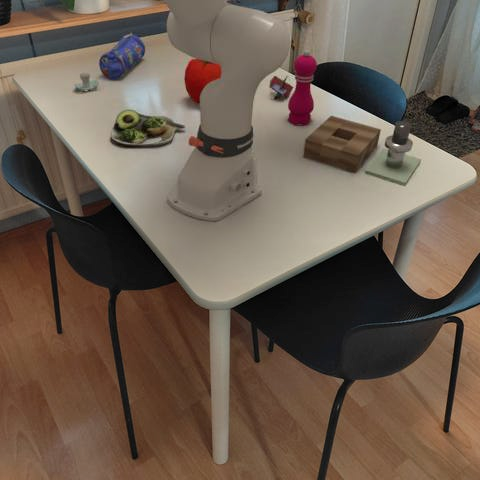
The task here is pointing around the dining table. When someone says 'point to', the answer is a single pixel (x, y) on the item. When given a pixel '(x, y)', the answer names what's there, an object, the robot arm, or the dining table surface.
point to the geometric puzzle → (281, 87)
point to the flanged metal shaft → (398, 144)
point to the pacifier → (86, 82)
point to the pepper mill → (302, 90)
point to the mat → (395, 175)
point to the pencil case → (122, 57)
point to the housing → (341, 143)
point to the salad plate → (142, 129)
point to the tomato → (200, 77)
